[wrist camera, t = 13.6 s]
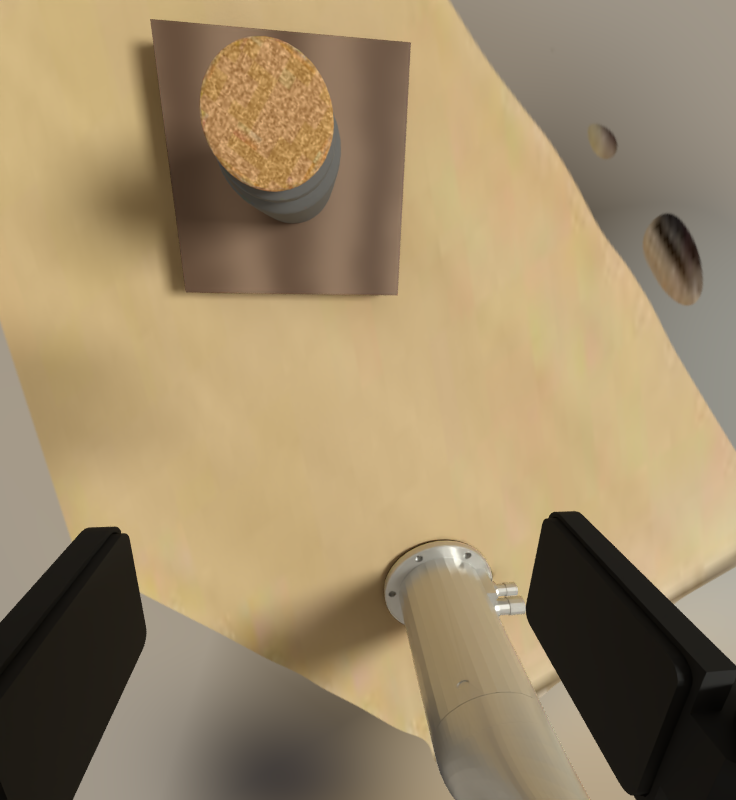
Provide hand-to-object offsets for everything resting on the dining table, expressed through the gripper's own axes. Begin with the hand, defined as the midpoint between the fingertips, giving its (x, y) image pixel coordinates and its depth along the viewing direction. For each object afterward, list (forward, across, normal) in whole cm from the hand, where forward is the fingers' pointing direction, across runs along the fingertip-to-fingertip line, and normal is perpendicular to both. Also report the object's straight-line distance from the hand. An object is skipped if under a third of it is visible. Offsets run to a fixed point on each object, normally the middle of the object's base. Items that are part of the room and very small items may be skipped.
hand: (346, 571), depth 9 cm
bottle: (+25, +3, -12) cm, 28 cm away
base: (+28, +3, -12) cm, 30 cm away
